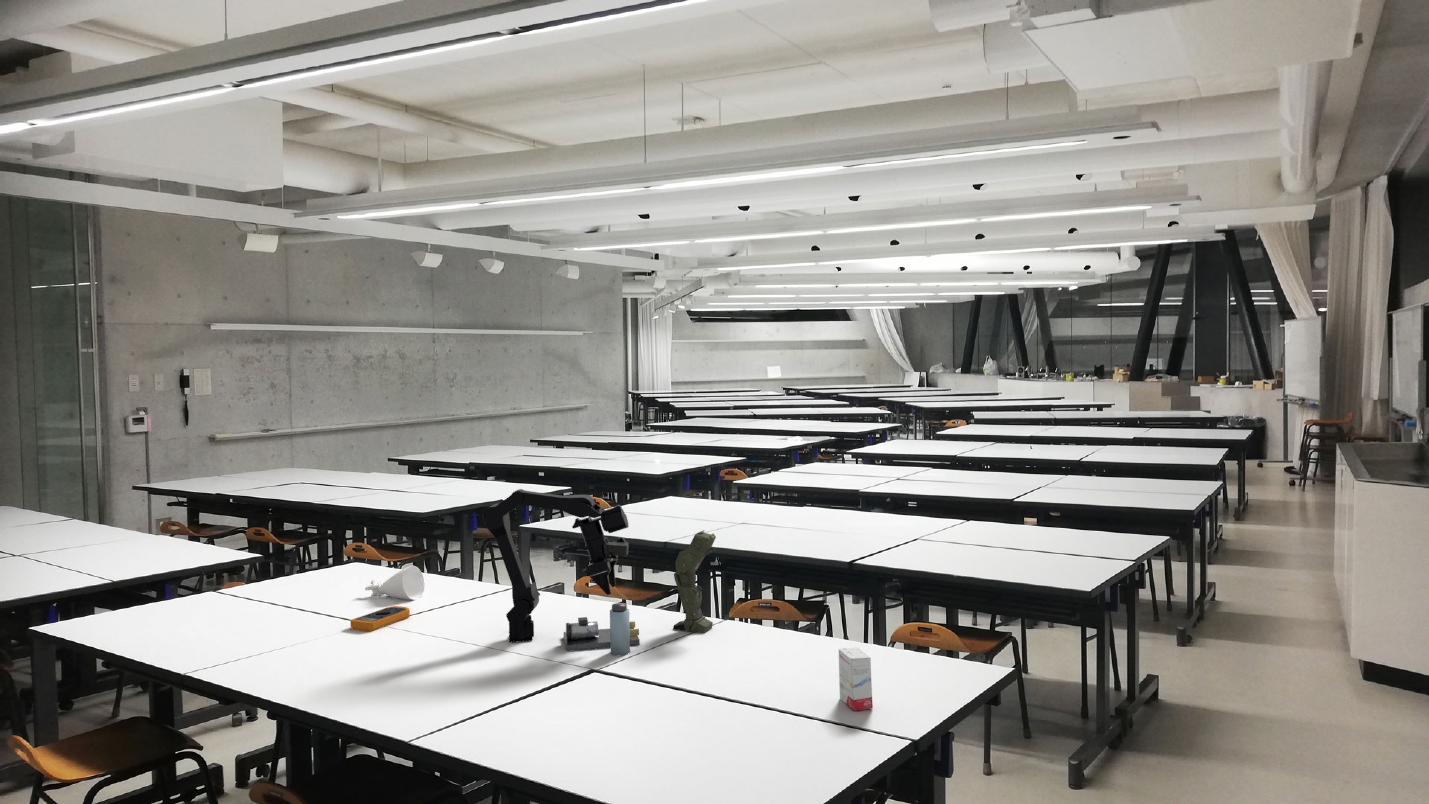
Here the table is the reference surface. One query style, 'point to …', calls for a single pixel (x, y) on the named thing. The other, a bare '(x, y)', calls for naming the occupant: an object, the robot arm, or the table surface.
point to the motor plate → (596, 641)
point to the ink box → (855, 678)
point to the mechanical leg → (692, 583)
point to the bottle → (619, 629)
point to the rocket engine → (401, 585)
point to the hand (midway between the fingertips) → (611, 590)
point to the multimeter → (380, 618)
